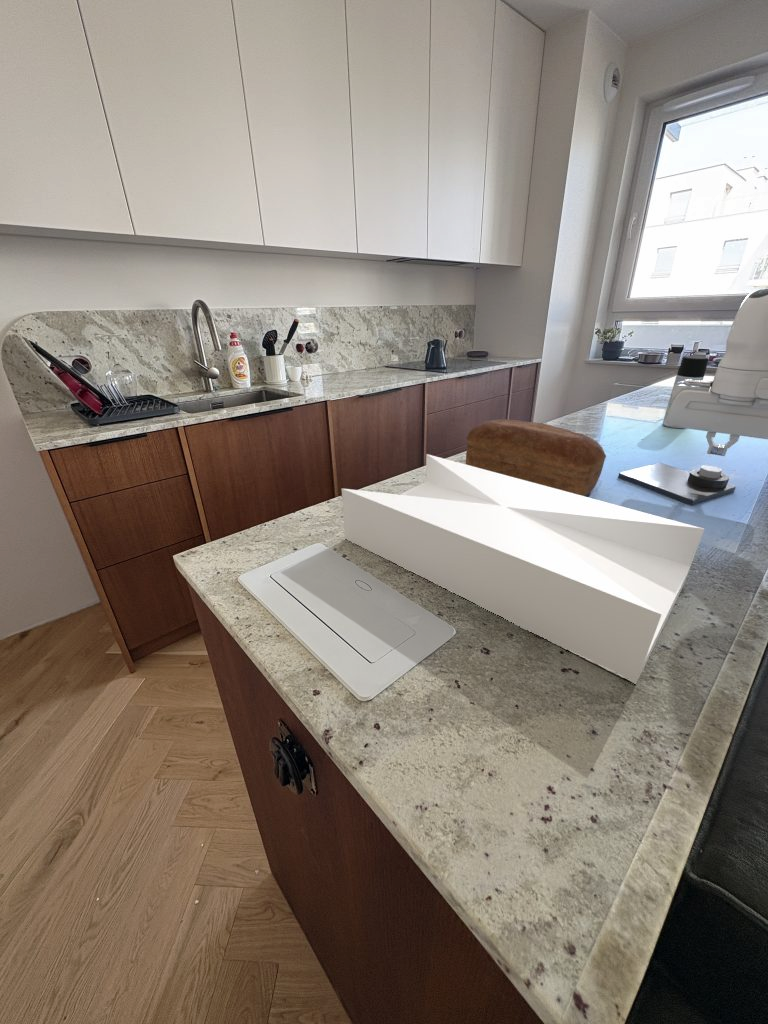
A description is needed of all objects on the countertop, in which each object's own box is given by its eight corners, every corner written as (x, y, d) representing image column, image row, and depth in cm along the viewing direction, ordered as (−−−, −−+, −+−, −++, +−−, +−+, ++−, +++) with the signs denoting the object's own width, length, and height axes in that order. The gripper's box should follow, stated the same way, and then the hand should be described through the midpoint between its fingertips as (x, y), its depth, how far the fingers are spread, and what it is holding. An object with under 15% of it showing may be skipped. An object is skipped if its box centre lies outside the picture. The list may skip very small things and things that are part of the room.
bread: (487, 458, 106) (492, 409, 100) (604, 488, 88) (618, 431, 83) (455, 473, 97) (459, 421, 91) (578, 510, 79) (591, 448, 74)
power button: (723, 477, 86) (726, 469, 85) (712, 480, 84) (715, 472, 84) (704, 472, 89) (707, 464, 88) (694, 475, 87) (697, 467, 87)
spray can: (685, 424, 130) (707, 356, 121) (689, 430, 125) (712, 359, 116) (660, 422, 133) (680, 355, 124) (663, 427, 127) (683, 358, 118)
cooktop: (734, 492, 86) (740, 478, 84) (691, 506, 80) (696, 491, 79) (659, 467, 99) (663, 454, 97) (617, 477, 93) (620, 465, 92)
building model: (344, 539, 71) (341, 488, 67) (425, 497, 86) (426, 453, 81) (635, 685, 44) (661, 614, 39) (682, 587, 58) (705, 528, 54)
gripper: (674, 380, 82) (654, 448, 88) (816, 392, 71) (782, 469, 77) (677, 376, 86) (658, 441, 92) (812, 386, 75) (779, 459, 81)
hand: (715, 454), depth 85 cm, fingers closed
